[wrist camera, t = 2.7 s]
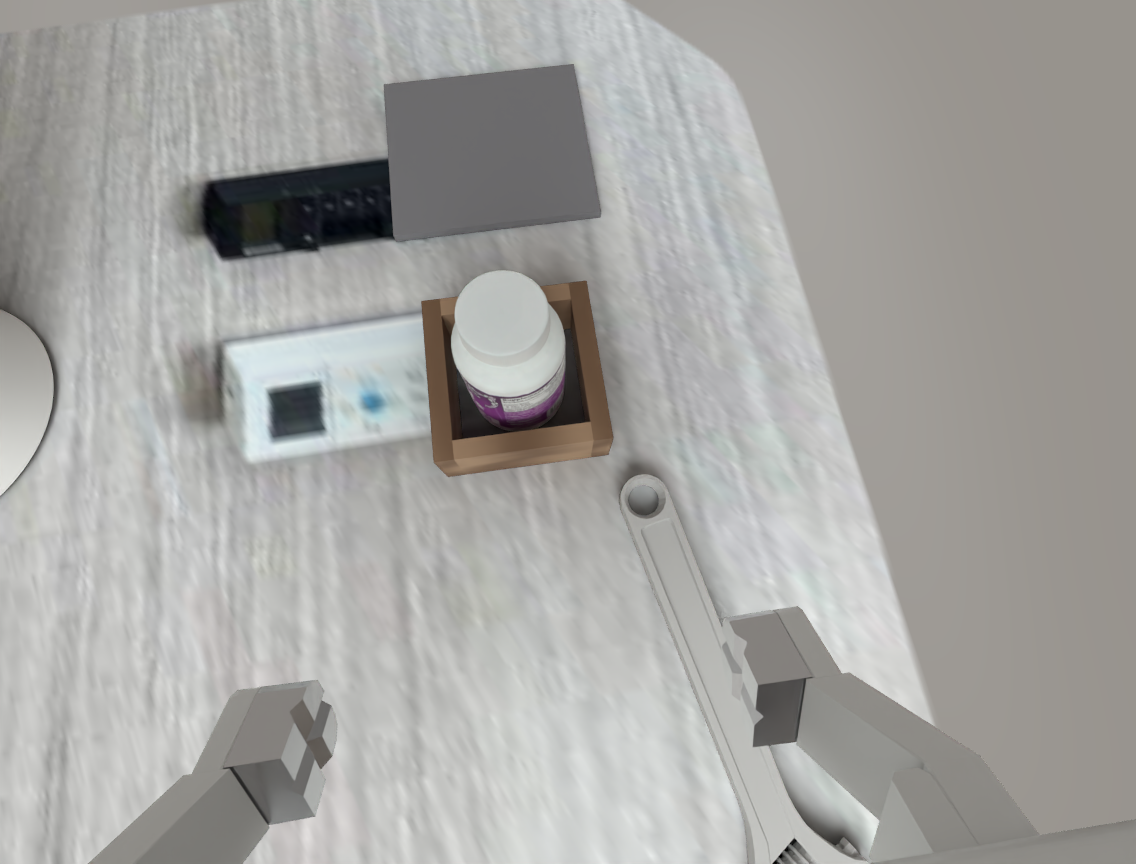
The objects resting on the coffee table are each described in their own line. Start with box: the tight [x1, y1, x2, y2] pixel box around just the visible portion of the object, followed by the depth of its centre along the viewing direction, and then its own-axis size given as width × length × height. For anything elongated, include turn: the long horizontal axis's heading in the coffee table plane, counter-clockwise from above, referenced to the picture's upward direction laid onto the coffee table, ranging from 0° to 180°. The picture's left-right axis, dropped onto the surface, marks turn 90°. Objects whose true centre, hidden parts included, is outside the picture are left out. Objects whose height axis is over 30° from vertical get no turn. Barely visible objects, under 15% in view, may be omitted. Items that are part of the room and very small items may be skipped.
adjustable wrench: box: [619, 474, 869, 864], centre depth 28 cm, size 25×6×2 cm, turn 15°
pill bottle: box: [451, 270, 566, 432], centre depth 28 cm, size 5×5×10 cm
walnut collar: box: [421, 281, 613, 477], centre depth 31 cm, size 9×9×4 cm
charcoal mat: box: [384, 64, 601, 242], centre depth 37 cm, size 13×12×1 cm
